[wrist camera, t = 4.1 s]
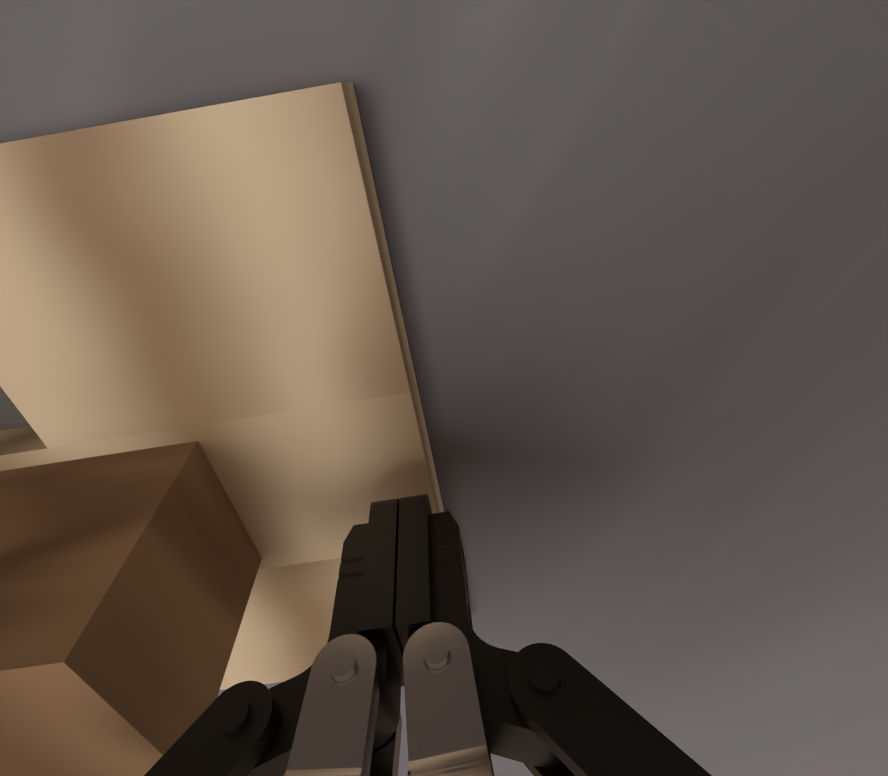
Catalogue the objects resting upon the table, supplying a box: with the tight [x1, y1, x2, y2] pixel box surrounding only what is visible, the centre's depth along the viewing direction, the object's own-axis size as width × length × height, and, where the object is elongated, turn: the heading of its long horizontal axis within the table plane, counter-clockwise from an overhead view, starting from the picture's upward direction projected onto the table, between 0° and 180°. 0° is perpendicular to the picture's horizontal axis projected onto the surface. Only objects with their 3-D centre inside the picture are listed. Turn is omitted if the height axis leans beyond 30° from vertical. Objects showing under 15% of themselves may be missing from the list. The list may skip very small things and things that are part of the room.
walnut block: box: [0, 441, 262, 776], centre depth 12 cm, size 6×5×6 cm
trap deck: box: [0, 82, 444, 690], centre depth 15 cm, size 25×20×4 cm
